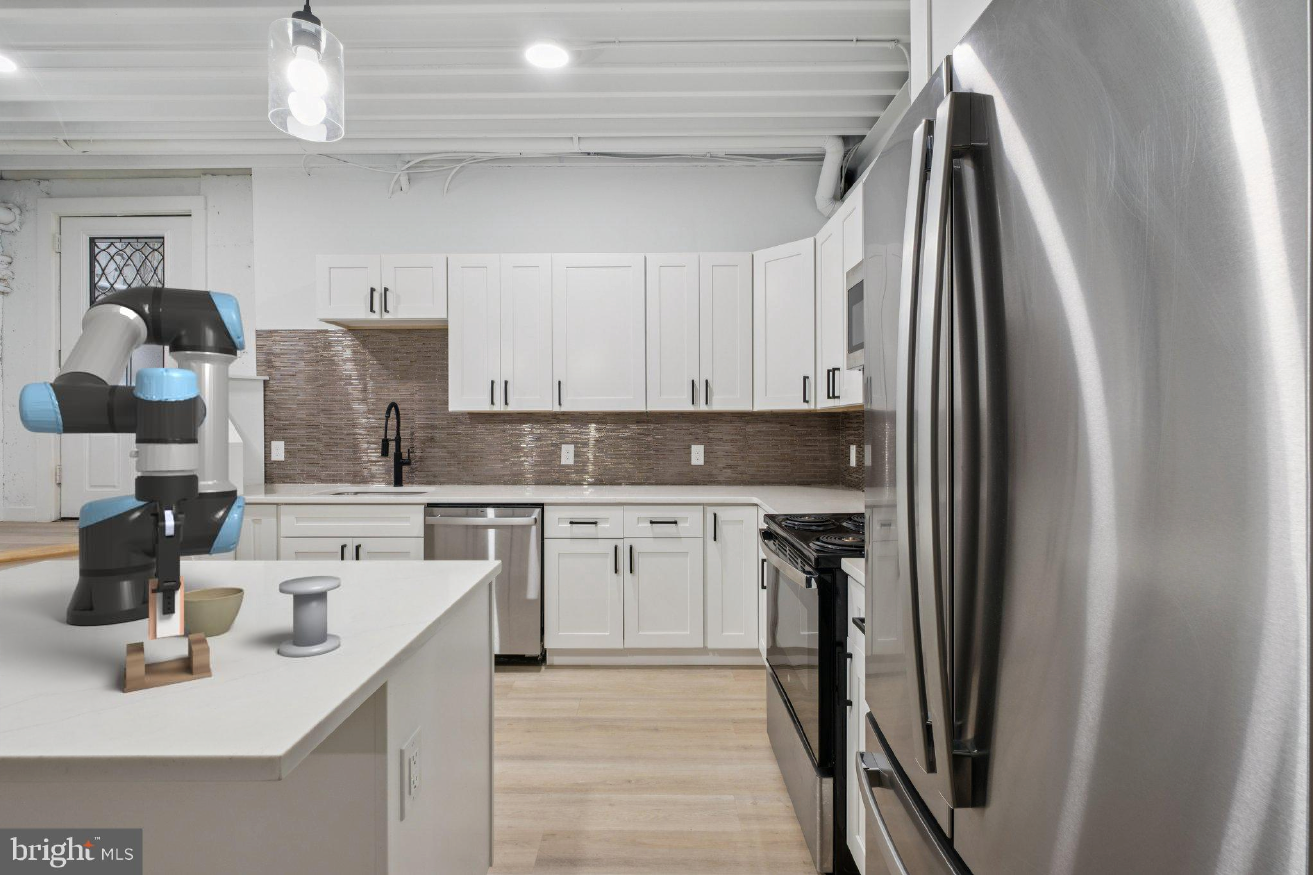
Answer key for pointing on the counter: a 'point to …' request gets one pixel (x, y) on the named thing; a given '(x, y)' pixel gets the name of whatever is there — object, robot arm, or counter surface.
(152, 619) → the peach rectangular block
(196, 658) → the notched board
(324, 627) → the bobbin
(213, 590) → the flower pot
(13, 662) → the counter surface
